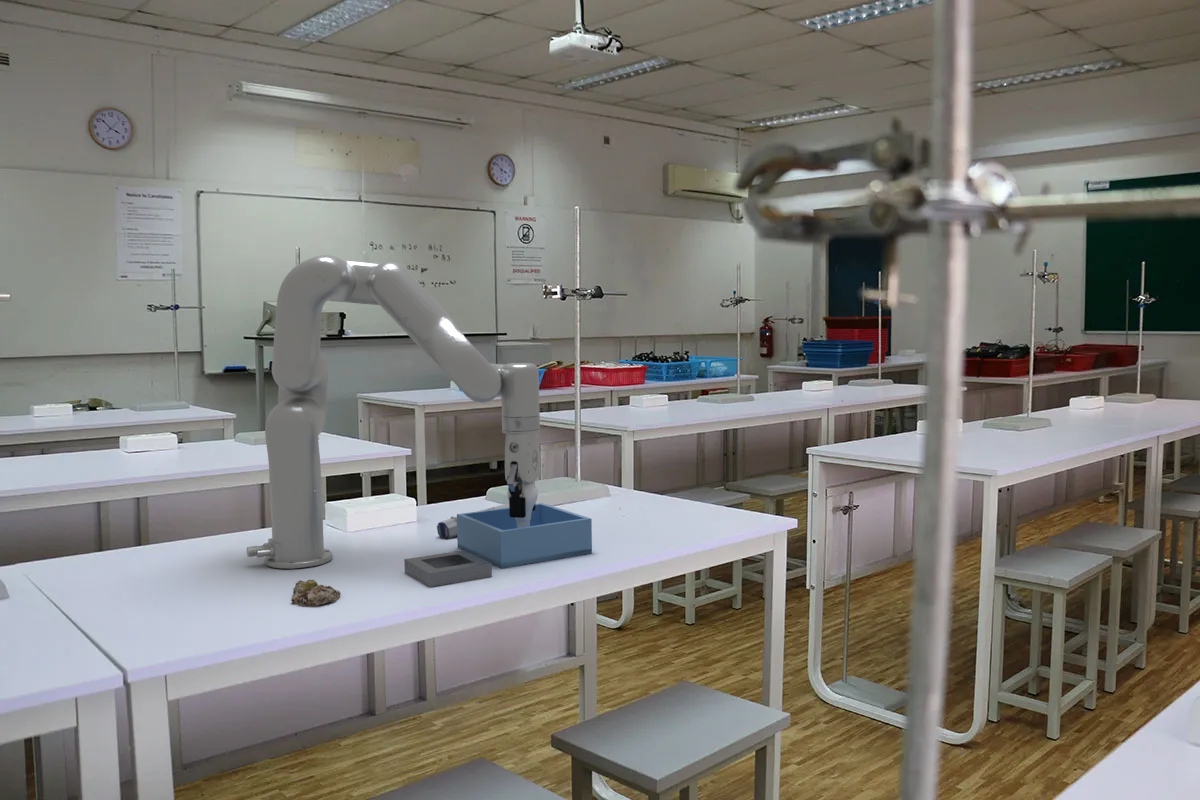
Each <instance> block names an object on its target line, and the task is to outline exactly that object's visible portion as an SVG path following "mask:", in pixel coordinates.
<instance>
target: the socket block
mask: <svg viewBox="0 0 1200 800" xmlns="http://www.w3.org/2000/svg"><path fill="white" fill-rule="evenodd" d="M492 565H493V564H492V563H490V562H488V561H486V560H484V559H482V558H480V557H477V556H475V555H473V554H471V553H469V552H467V551H465V550H461V549H460V550H457V551H456V550H455V551H449V552H443V553H437V554H430V555H424V556H417V557H411V558H405V559H404V573H405V574H406V575H408V576H410V577H412V578H414V579H415V580H417V581H419V582H420V583H422V584H423V583H424V584H423V585H425V584H426V585H425V586H427V587H429V588H433V586H435V587H439V586H438V585H440V586H445V585H444V584H446V585H450V584H449V583H452V584H456V583H455V582H458V583H462V582H463V581H464V582H468V581H469V582H470V581H475V580H480V579H486V578H492V577H493V573H492V570H493V569H492V568H493V567H492Z"/></svg>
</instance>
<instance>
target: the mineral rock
mask: <svg viewBox="0 0 1200 800" xmlns="http://www.w3.org/2000/svg"><path fill="white" fill-rule="evenodd" d="M292 589H293V591H292V593H293V597H292V598H291V600H290V601H291V602H292V603H293V604H294V605H297V606H302V607H306V606H308V605H310V606H321V604H322V605H324V604H329V603H332V604H333V603H337V601H338V600H339V598H340V597H341V594H342V593H341V591H340V590H339V589H335V588H334V587H332V586H331V585H328V586H327V585H323V584H319V583H318V582H317V581H316V580H315V579H307V580H306V581H305V580H298V581H296V583H295V586H294V587H293V588H292Z"/></svg>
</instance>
